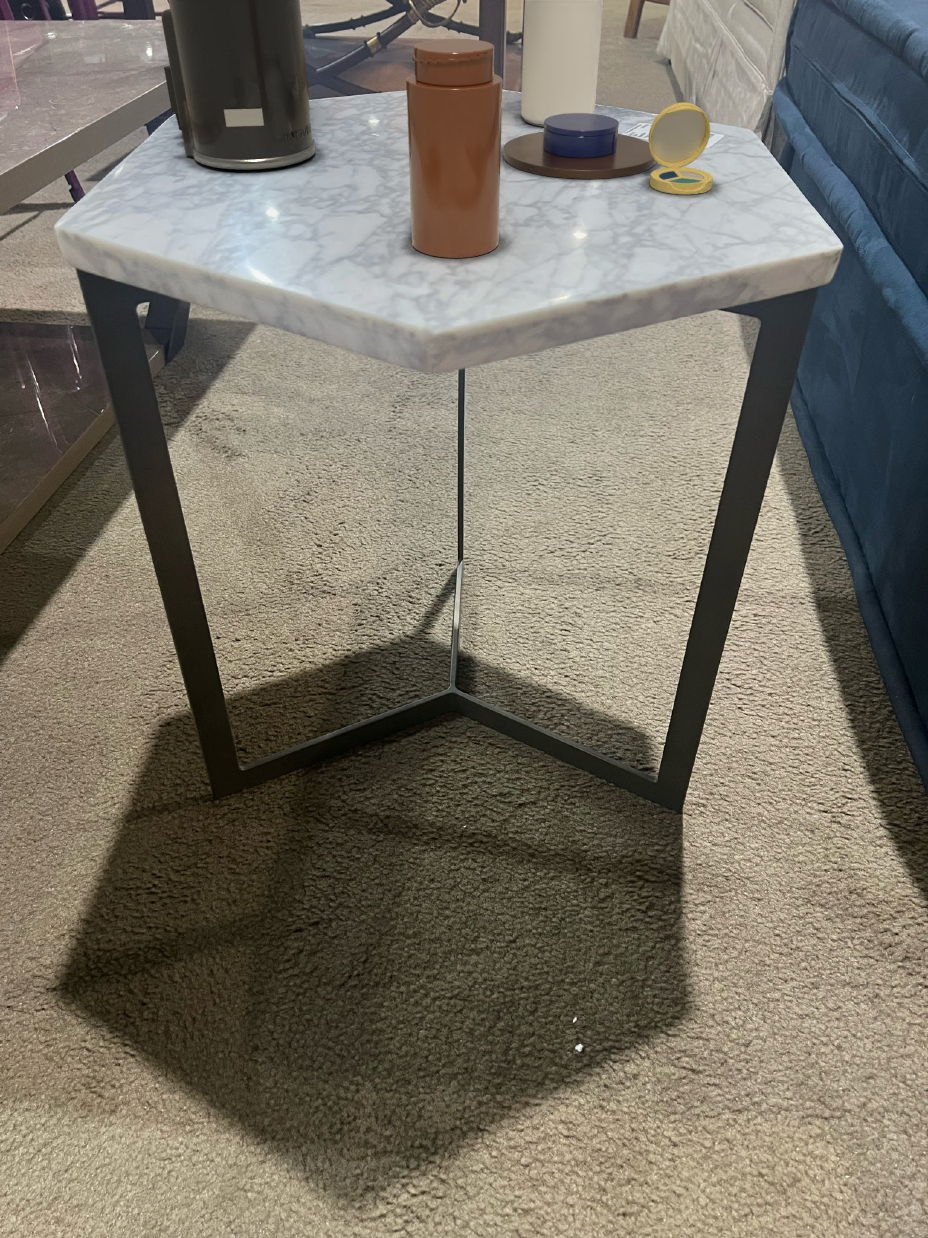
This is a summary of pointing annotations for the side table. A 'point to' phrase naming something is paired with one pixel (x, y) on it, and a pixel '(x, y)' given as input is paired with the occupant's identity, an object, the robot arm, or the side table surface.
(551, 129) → the jar lid
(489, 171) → the jar
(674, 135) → the eyeshadow
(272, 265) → the side table surface
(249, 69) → the robot arm
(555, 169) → the coaster
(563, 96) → the can
